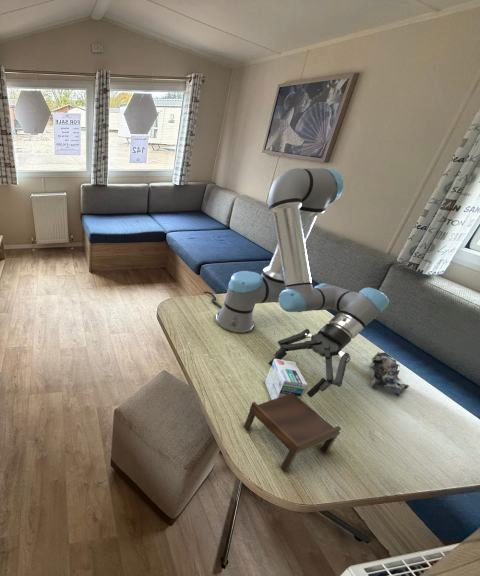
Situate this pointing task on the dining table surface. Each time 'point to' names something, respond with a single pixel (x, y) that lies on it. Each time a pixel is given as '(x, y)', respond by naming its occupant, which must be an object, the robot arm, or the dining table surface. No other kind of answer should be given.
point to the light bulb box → (285, 379)
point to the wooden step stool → (293, 425)
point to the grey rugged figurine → (385, 366)
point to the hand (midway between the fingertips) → (288, 379)
